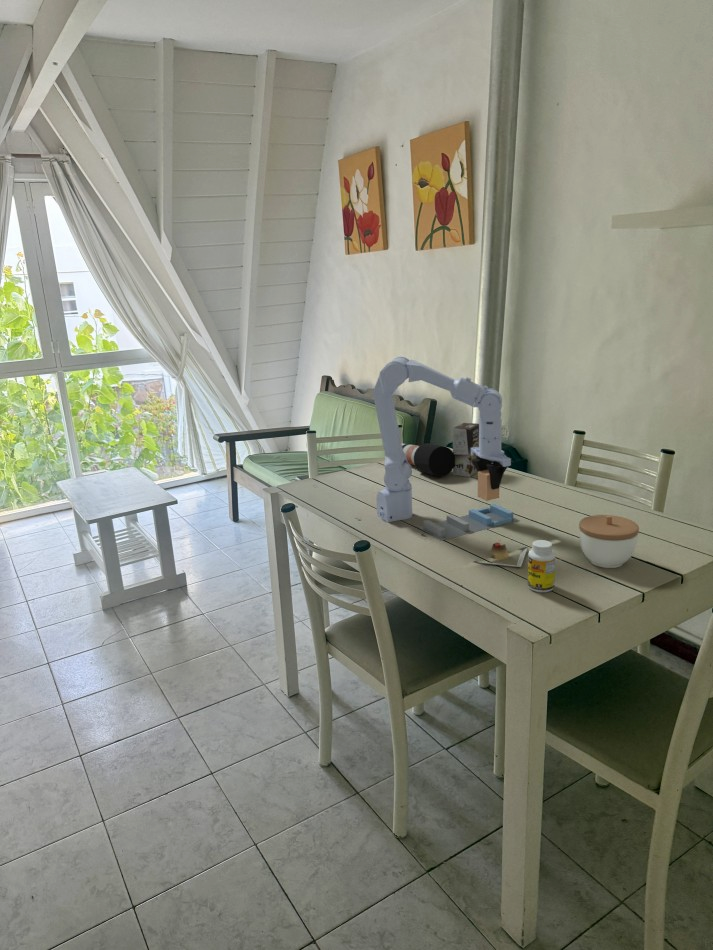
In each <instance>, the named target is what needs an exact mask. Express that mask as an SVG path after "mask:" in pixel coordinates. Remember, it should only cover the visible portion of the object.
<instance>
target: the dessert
mask: <svg viewBox="0 0 713 950" xmlns="http://www.w3.org/2000/svg"><path fill="white" fill-rule="evenodd" d="M506 545H507V544H505V541H504V540H503V539H501V538H500V539H499V540H498V542H494V543H493V544H492V547H491V549H490V554H491V555H492V556H490V559H493V560H499V561H500V560H506V559H508V558H509V556H510V555H509V553H508V548H507V546H506ZM528 548H529V546H526V547H522V548H518V549H517V550H519V551H521V552H520V555H519V558H518V559H517V563H516V565H515V564H504V563H496V562H495V563H494V562H487V561H486V562H485V561H478V560H476V561H473V563H476V564H486V565H493V566H501V567H502V566H503V567H511V568H513V567H514V568H521V567H522V565H523V562H524V559H525V556H526V554H527V551H528Z"/></svg>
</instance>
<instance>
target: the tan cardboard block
mask: <svg viewBox="0 0 713 950" xmlns="http://www.w3.org/2000/svg"><path fill="white" fill-rule="evenodd" d="M477 497H478V498H480V499H481V500H483V501H484V500H485V501H486V502H488V501H492V500H496V499H500V487H499V488H498V489H494V490H493V489H491V483H490V474H489V471H488V470H484V471H479V472H477Z"/></svg>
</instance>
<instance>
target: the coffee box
mask: <svg viewBox="0 0 713 950" xmlns="http://www.w3.org/2000/svg"><path fill="white" fill-rule="evenodd" d="M473 447H479V423H476V422H475V423H473V422H472V423H471V422H463V423H460V424H458V425H455V427H452V452H453V454H454V456H455V465H454V467H453V469H452V475H453V476H458V477H459V476H461V477H467V478H471V476H474V475H475V474H476V473H477V474H478V472H477V469H476V467H475V465H474V463H473V462H472V460H473V459H476V457H477V456H476V455H471V448H473Z"/></svg>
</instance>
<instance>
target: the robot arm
mask: <svg viewBox="0 0 713 950" xmlns="http://www.w3.org/2000/svg"><path fill="white" fill-rule="evenodd" d="M406 380H408V383H412V382H419V381H422V382H425V383H428V384H430V385H433V386H436V387H438V388H440V389H443V390H446V391H448V392H449V394H450V395H451V398H452V399H454V400H457V401H459V402H461V403H463V404H466V405H468V406H471V407H473V408H478V410H479V420H478V424H479V447H473V448H471V455H476V456H477V457H476V459H473V460H472V462H473V463H474V465H475V467H476V469H477V473H478V472H479V471H484V470H488V471H489V474H490V483H491V489H493V490H494V489H498V488H499V489H500V487H501V483H502V479H503V477H504V476H503V475H504V474H505V471H506V470H507V469H508V467H510V466H512V463H511V462H512V458H510V457H508V456H507V455H506V454H505V451H504V450H502V437H503V436H502V433H503V431H502V430H503V429H502V421H503V420H502V406H503V396H502V395H501V393H500V392H499V391H498V390H496V389H495V388H493V387H492V388H490V387H489V386H487V385H484V386H483V385H480V384H478V383H476V382H474V381H472V379H471V378H470V377H468V376H466V377H465V378H464V377H459V378H457V379H454V378H453V377H451V376H448V375H446V374H444V373H442V372H440V371H438V370H436V369H433V368H431V367H429V366H427V365H425V364H423V363H422V362H419V361H416V360H413V359H409V358H407V357H405V356H398V357H395V358H393V359H392V360H391V361H390V362H389V361H388V363H386V365H385V366H384V367H383V368H382V369H381V370H380V371H379V374H378V378H377V380H376V383H375V385H374V388H373V391H372V396H373V402H374V407H375V411H376V416H377V421H378V426H379V432H380V436H381V440H382V446H383V451H384V456H385V457H384V471H385V472H384V476H383V482H384V485H385V488H384V489H381V490H380V491H378V492H377V494H376V514H377V515H376V516H377V517H378V518H379V519H381V520H383V521H384V522H386V523H391V522H396V521H402V520H403V521H404V520H408V519H411V518H412V517H413V491H412V489H413V485H412V483H411V482H410V480H409V479H410V478H411V476H412V473H413V467H412V466H411V465H412V464H409V463H408V461H407V459H406V455H405V453H404V452H403V448H402V444H403V443H402V438H401V435H400V434H401V433H400V428H399V423H398V418H397V412H396V408H395V403H394V398H393V394H394V393H395V392H396V390H397V389H398V388H399V387H400V386H401V385H402V384H404V383H405V382H406Z"/></svg>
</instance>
